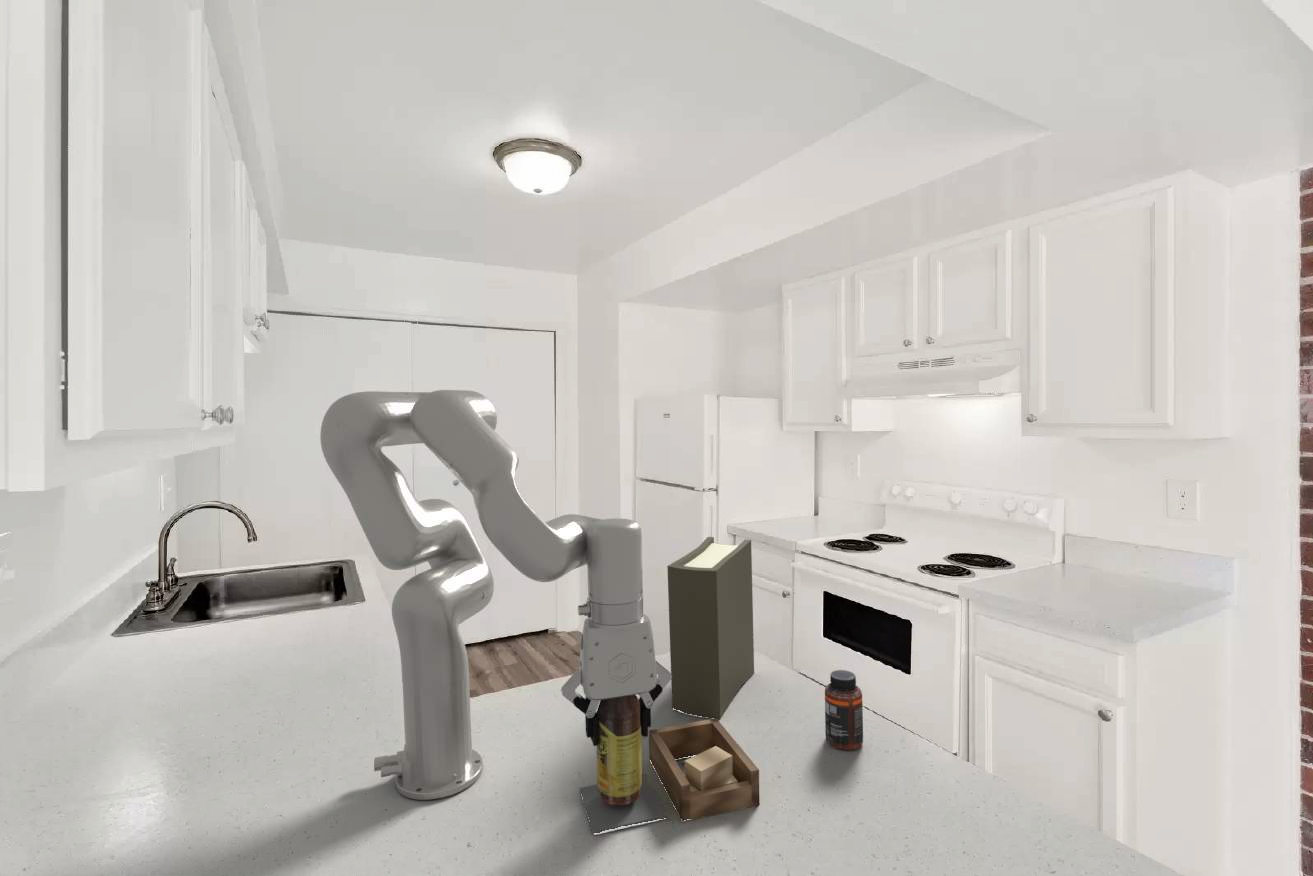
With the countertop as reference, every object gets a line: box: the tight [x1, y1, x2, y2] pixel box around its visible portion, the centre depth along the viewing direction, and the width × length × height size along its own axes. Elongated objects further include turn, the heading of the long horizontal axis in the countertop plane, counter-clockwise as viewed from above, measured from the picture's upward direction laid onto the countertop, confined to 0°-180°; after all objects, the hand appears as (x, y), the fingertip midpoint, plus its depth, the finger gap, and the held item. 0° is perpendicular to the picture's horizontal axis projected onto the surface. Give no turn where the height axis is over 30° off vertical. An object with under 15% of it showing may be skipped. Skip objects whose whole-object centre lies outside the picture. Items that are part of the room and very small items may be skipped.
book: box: [667, 536, 755, 720], centre depth 123 cm, size 22×9×28 cm, turn 155°
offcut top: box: [684, 746, 733, 791], centre depth 90 cm, size 6×3×3 cm, turn 128°
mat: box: [579, 774, 668, 834], centre depth 89 cm, size 10×10×1 cm
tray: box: [648, 718, 760, 822], centre depth 94 cm, size 11×15×5 cm
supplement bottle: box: [824, 669, 864, 751], centre depth 104 cm, size 6×6×11 cm
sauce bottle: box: [596, 695, 643, 806], centre depth 89 cm, size 7×6×20 cm
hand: (618, 735), depth 89 cm, fingers closed on sauce bottle, 6 cm apart
